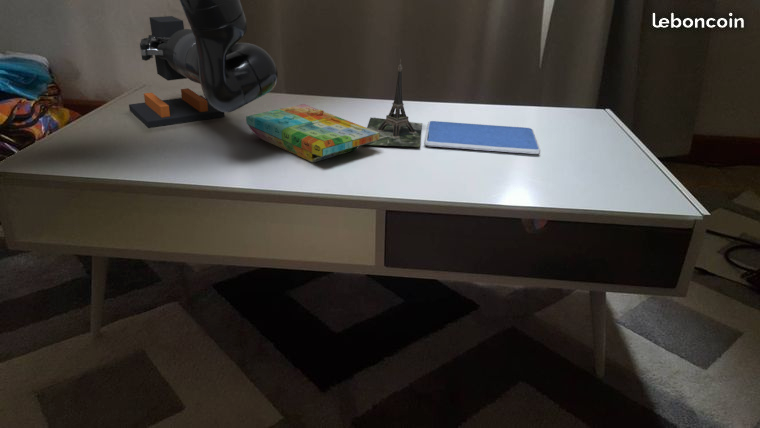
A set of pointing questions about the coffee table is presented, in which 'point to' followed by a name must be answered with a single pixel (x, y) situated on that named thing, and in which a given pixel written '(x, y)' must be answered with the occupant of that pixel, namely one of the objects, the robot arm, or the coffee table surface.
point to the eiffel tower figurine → (396, 123)
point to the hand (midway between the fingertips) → (164, 39)
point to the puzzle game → (310, 132)
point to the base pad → (174, 109)
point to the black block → (166, 28)
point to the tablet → (481, 137)
